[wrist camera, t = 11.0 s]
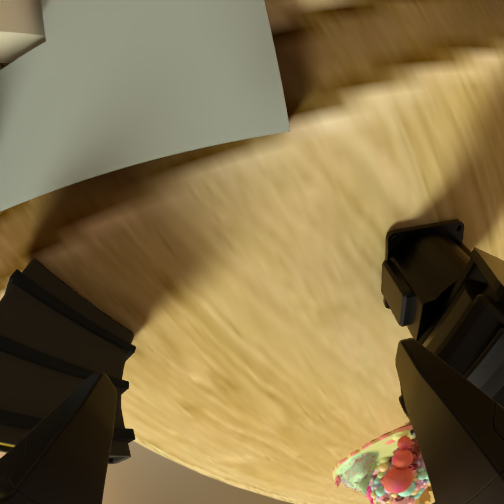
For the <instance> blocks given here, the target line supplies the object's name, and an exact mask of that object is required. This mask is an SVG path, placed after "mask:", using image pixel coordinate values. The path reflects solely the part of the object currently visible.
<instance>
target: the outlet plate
mask: <svg viewBox="0 0 504 504" xmlns="http://www.w3.org/2000/svg"><path fill="white" fill-rule="evenodd" d="M41 4H42V14H43V22H44V30H45V37H46V42H44V43H42V44H40V45H39V46H37V47H35V48H34V49H32V50H30V51H29V52H27V53H26V54H24V55H22V56H21V57H19V58H18V59H16V60H15V61H13V62H12V63H10V64H9V65H7V66H6V67H4V68H3V69H2V66H1V63H0V212H1V211H3V210H5V209H8V208H10V207H13V206H15V205H17V204H20V203H22V202H25V201H28V200H30V199H33V198H35V197H38V196H41V195H43V194H46V193H49V192H51V191H54V190H57V189H60V188H63V187H65V186H68V185H71V184H74V183H77V182H80V181H83V180H86V179H89V178H92V177H95V176H99V175H102V174H105V173H108V172H112V171H115V170H118V169H122V168H125V167H129V166H132V165H136V164H139V163H143V162H146V161H150V160H154V159H158V158H162V157H166V156H170V155H174V154H178V153H182V152H186V151H190V150H195V149H199V148H203V147H208V146H213V145H217V144H222V143H227V142H232V141H237V140H242V139H248V138H253V137H259V136H265V135H271V134H277V133H283V132H289V131H290V126H289V121H288V115H287V109H286V104H285V98H284V93H283V87H282V82H281V77H280V72H279V67H278V62H277V57H276V52H275V47H274V42H273V37H272V33H271V28H270V24H269V19H268V15H267V10H266V6H265V2H264V0H41Z"/></svg>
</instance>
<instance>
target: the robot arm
mask: <svg viewBox="0 0 504 504" xmlns="http://www.w3.org/2000/svg"><path fill="white" fill-rule="evenodd" d="M458 225H459V226H458ZM457 226H458V228H457V229H456V227H457ZM463 231H464V224H463V223H462V222H461V221H460V220H452V221H446V222H440V223H434V224H428V225H422V226H416V227H410V228H404V229H399V230H393V231H390V232H389V233H388V234H387V235H386V254H385V260H384V262H383V263H382V284H381V292H382V294H383V295H384V301H383V302H384V305H385V307H386V308H388V309H391V310H392V312H393V314H394V316H395V318H396V320H397V322H398V324H399V325H400V326H402V327H403V326H407V327H408V329H409V331H410V333H411V335H412V337H413V338H408V339H404V340H401V341H399V343H398V349H397V354H396V368H397V372H398V376H399V380H400V386H401V394H402V395H401V396H400V397H399V401H400V404H401V406H402V408H403V411H404V413H405V414H406V416H407V417H408V419H409V420H410V422H411V425H412V429H411V430H410V433H411V435H413V436H414V437H416V439H417V442H418V445H419V449H420V452H421V455H422V458H423V461H424V464H425V468H426V471H427V474H428V478H429V481H430V484H431V488H432V491H433V495H434V498H435V502H436V504H504V261H503V260H501V259H499V258H497V257H495V256H492V255H490V254H488V253H486V252H484V251H482V250H480V249H477V248H475V247H474V249H473V251H472V252H471V251H470V250H469V249H468V248H467V247H466V246H465V245H464V244H462V240H463ZM394 236H396V237H395V239H394V240H391V238H392V237H394ZM116 399H117V391H116V388H115V387H114V385H113V384H112V382H111V381H110V379H109V378H108V376H107V375H106V374H105V373H100V372H95V373H92V374H91V375H90V376H89V377H88V378H87V379H86V380H85V381H84V382H82V383H81V384H80V385H79V386H78V387H77V388H76V389H75V390H74V391H73V392H72V393H71V394H70V395H68V396H67V397H66V398H65V399H64V400H63V401H62V402H61V403H60V404H59V405H58V406H57V407H56V408H55V409H54V410H52V411H51V412H50V413H49V414H48V415H47V416H46V417H45V418H44V419H43V420H42V421H41V422H40V423H39V424H38V425H37V426H36V427H34V428H33V429H32V430H31V431H30V432H29V433H28V434H27V435H26V437H24V438H23V439H22V440H21V441H20V442H19V443H18V444H17V445H15V446H14V447H13V448H12V449H11V450H10V451H9V452H8V453H6V454H5V455H4V456H3V457H2V458H0V504H102V499H103V491H104V485H105V478H106V472H107V466H108V460H109V454H110V448H111V443H112V437H113V430H114V419H115V409H116Z"/></svg>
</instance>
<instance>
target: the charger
mask: <svg viewBox="0 0 504 504" xmlns="http://www.w3.org/2000/svg"><path fill="white" fill-rule="evenodd" d="M44 42H46V37H45V30H44V22H43V14H42V4H41V0H0V63H12V62H13V61H15V60H16V59H18V58H19V57H21V56H22V55H24V54H26V53H27V52H29V51H30V50H32V49H34V48H35V47H37V46H39V45H40V44H42V43H44Z"/></svg>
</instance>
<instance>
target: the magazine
mask: <svg viewBox="0 0 504 504" xmlns="http://www.w3.org/2000/svg"><path fill="white" fill-rule="evenodd" d="M133 337H134V335H133V334H132V333H131V332H130V331H128V330H127V329H125V328H124V327H123V326H121V325H120V324H118V323H117V322H115V321H114V320H113V319H111V318H110V317H108V316H107V315H105V314H104V313H103V312H101V311H100V310H99V309H97V308H96V307H94V306H93V305H92V304H90V303H89V302H88V301H86V300H85V299H84V298H82V297H81V296H80V295H78V294H77V293H76V292H75V291H73V290H72V289H71V288H69V287H68V286H67V285H66V284H64V283H63V282H62V281H61V280H59V279H58V278H57V277H56V276H54V275H53V274H52V273H51V272H50V271H48V270H47V269H46V268H45V267H44V266H42V265H41V264H40V263H39V262H38V261H37V260H32V261H31V262H30V263H29V264H28V266H27V267H26V268H25V269H24V270H23V271H22V273H21V272H20V271H19V270H18V269H17V270H16V271H15V272H14V273H13V274H12V275H11V276H10V279H9V282H8V285H7V288H6V292H5V295H4V296H3V298H2V299H1V301H0V451H1V452H6V453H8V452H9V451H10V450H11V449H12V448H13V447H14V446H15V445H17V444H18V443H19V442H20V441H21V440H22V439H23V438H24V437H26V435H27V434H28V433H29V432H30V431H31V430H32V429H33V428H34V427H36V426H37V425H38V424H39V423H40V422H41V421H42V420H43V419H44V418H45V417H46V416H47V415H48V414H49V413H50V412H51V411H52V410H54V409H55V408H56V407H57V406H58V405H59V404H60V403H61V402H62V401H63V400H64V399H65V398H66V397H67V396H68V395H70V394H71V393H72V392H73V391H74V390H75V389H76V388H77V387H78V386H79V385H80V384H81V383H82V382H84V381H85V380H86V379H87V378H88V377H89V376H90V375H91V374H92V373H95V372H100V373H105V374H106V375H107V376H108V378H109V379H110V381H111V382H112V384H113V385H114V387H115V388H116V391H117V399H116V409H115V419H114V430H113V437H112V443H111V448H110V454H109V460H108V464H116V463H119V462H121V461H123V460H125V459H128V458H130V457H131V455H130V450H129V446H128V443H129V442H131V441H133V440H135V435H134V430H133V429H126V428H125V426H124V421H123V415H122V410H121V394H123V393H124V392H125V391H126V390H127V389H128V388H129V382H128V381H125V380H122V376H123V369H124V365H125V361H126V360H127V359H128V358H129V357H130V356H131V355H132V354H133V353H134V352H135V349H136V347H135V346H134V345H132V344H131V343H132V340H133Z"/></svg>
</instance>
